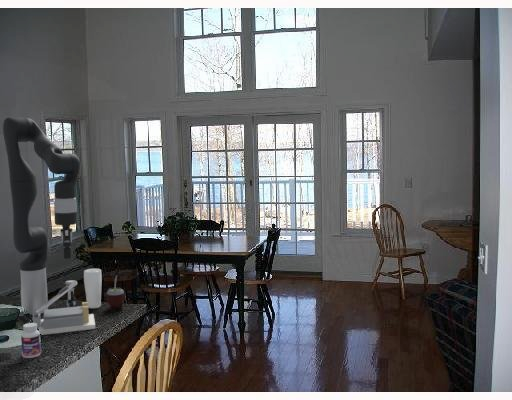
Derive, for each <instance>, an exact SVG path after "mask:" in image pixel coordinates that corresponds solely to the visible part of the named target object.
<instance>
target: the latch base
mask: <svg viewBox="0 0 512 400" xmlns="http://www.w3.org/2000/svg"><path fill="white" fill-rule="evenodd" d="M89 312H90V311H89V308H88V302H87V301H85V302H81V305H80V306H79V305H78V306H72V307H61V308H60V307H59V308H52V309H51V308H50V309H49V308H48V310H44V313H43V318H42V319H41V314H38V316H37V317H35V316H34V314H33V315H32V320H33V323H36V324H37V327H38V329H39V331H40V334H41V335H40V336H44V335H52V334H54V335H55V334H63V333H71V332H77V331H78V332H79V331H80V332H81V331H87V330H95V329H96V321H95V315H94V313H89Z"/></svg>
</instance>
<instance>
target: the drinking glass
mask: <svg viewBox="0 0 512 400" xmlns="http://www.w3.org/2000/svg"><path fill="white" fill-rule="evenodd" d="M102 280H103V276H102V269H100V268H88V269H85V270H83V283H84V291H85V297H86V302H88V309H98V308H100V307H101V306H102V303H101V302H102V301H101V300H102V285H103V284H102V283H103V282H102Z"/></svg>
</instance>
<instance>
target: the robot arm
mask: <svg viewBox="0 0 512 400" xmlns="http://www.w3.org/2000/svg"><path fill="white" fill-rule="evenodd" d="M2 132H3V133H2V134H3V140H4V144H5V150H6V154H7V155H6V156H7V162H8V170H9V171H8V172H9V185H10V194H11V202H12V204H11V205H12V214H13V215H12V216H13V217H12V220H13V221H12V222H13V223H12V225H13V227H12V230H13V231H12V234H13V235H12V237H13V244H14V248H15V249H16V250H17V252H18V253H20V254H26V253H29V254H28V255H27V256H26V258H24V259H23V260H22V261H20V264H19V269H20V270H19V271H20V285H21V286H20V303H21V308H22V307H23V308H24V309H25V311H27V312H28V313H29V314H30V315H29V316H33V314H34V311H35V310H36V309H37V310H38V309H39V308H40V307H41V306H43V305H44V304H45V303H47V302H48V301H49V300H48V283H47V266H46V265H47V261H48V236H47V235H48V234H47V233H46V230H45V229H44V228H43V227H41V226H29V219H30V218H29V217H30V212H31V210H32V207H33V206H34V204H35V200H36V198H37V195H38V185H37V176H36V174H35V172H34V170H33V169H32V168H31V166H30V165H29V164H28V162H27V161H26V159H24V157H23V155H22V152H21V149H20V146H19V143H27V142H30V143H33V150H34V153H35V154H36V155H37V157H39V158H40V159H41V160H43V162H45V164H46V166H47V169H48V171H50V172H51V174H52V173H53V174H54V175H65V176H64V178H63V179H61V180H59V181H56V182H55V183H54V186H53V187H54V189H53V190H54V205H53V206H54V207H53V208H54V209H53V210H54V224H55V225H56V226H61V227H62V228H60V236H61V238H60V239H61V243H62V248H63V257H64V258H63V259H67V260H68V259H70V258H71V256H72V255H71V247H72V241H73V228H71V225H75V224H77V223H78V204H77V198H76V197H77V194H76V193H77V192H76V186H77V182H78V176H79V173H80V170H81V169H80V168H81V162H80V158H79V156H78V155H77V154H74V153H63V150H62V148H61V147H60V146H58V145H57V144H56V143H54V142H53V141H52V140H51V139H50V138H48V137H47V135H46V133H44V131H42V129H41V128H40V127H39V125H38V124H37V123H36V121H34V120H33V118H30V117H12V116H10V117H6V118H5V119H4V120H3V123H2ZM44 310H49V306H48V307H47V308H46V309H44ZM44 310H43V311H42V312H40V313H39V314H40V315H41V314H44Z"/></svg>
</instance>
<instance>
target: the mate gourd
mask: <svg viewBox="0 0 512 400" xmlns="http://www.w3.org/2000/svg"><path fill="white" fill-rule="evenodd" d="M117 278H118V274H117V275H115V278H114V281H113V282H114V287H111V288H108V289H107V291H106V295H105V298H106V302H107V304H108V305H109V307H108V309H109V311H110V312H114V311H117V310H118V311H123V310H124V308H123V305H124V302H125V299H126V296H125V291H124V289H122V288H121V287H117V280H118V279H117Z"/></svg>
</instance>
